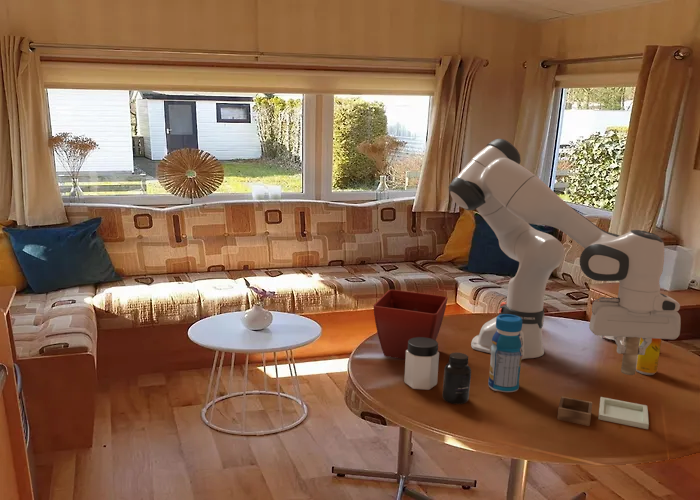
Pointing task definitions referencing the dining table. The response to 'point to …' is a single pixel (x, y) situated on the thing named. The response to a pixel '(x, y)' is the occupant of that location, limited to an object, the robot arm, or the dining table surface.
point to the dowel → (630, 355)
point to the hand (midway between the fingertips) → (630, 353)
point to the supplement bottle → (457, 379)
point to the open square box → (574, 411)
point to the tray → (623, 412)
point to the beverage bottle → (506, 354)
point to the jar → (421, 363)
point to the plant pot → (407, 319)
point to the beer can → (649, 358)
